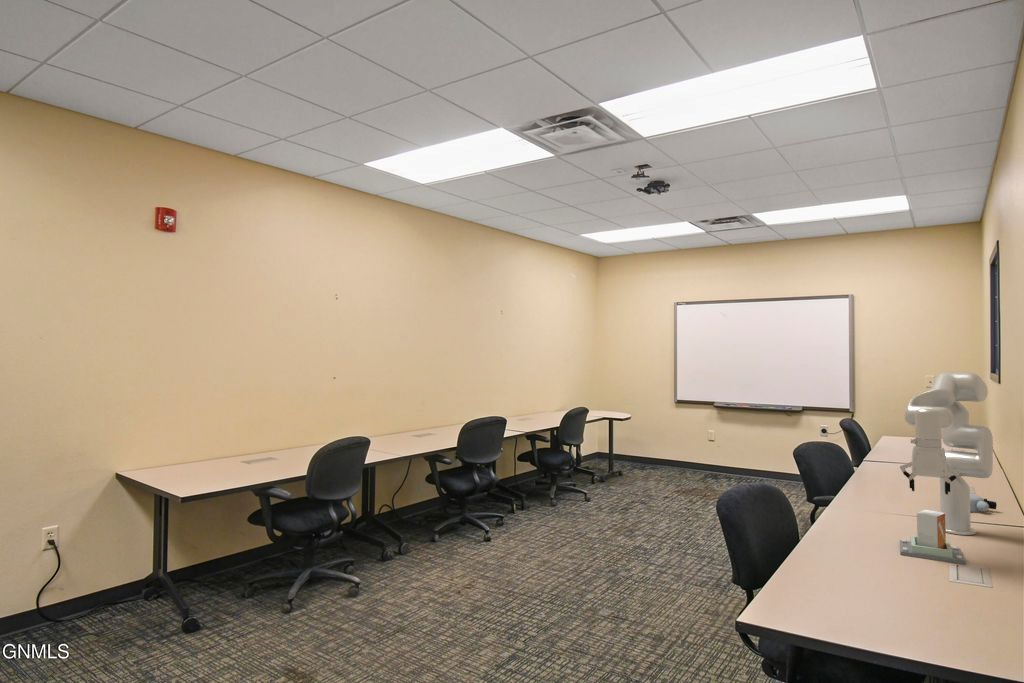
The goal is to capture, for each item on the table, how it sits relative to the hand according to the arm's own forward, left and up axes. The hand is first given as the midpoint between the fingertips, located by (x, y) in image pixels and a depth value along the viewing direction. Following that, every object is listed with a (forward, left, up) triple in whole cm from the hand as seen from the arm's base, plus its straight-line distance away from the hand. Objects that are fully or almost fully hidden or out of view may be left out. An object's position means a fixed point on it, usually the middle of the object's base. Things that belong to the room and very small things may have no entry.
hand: (929, 492), depth 207 cm
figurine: (-83, +18, -22) cm, 88 cm away
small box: (0, 0, -20) cm, 20 cm away
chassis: (0, 0, -21) cm, 21 cm away
